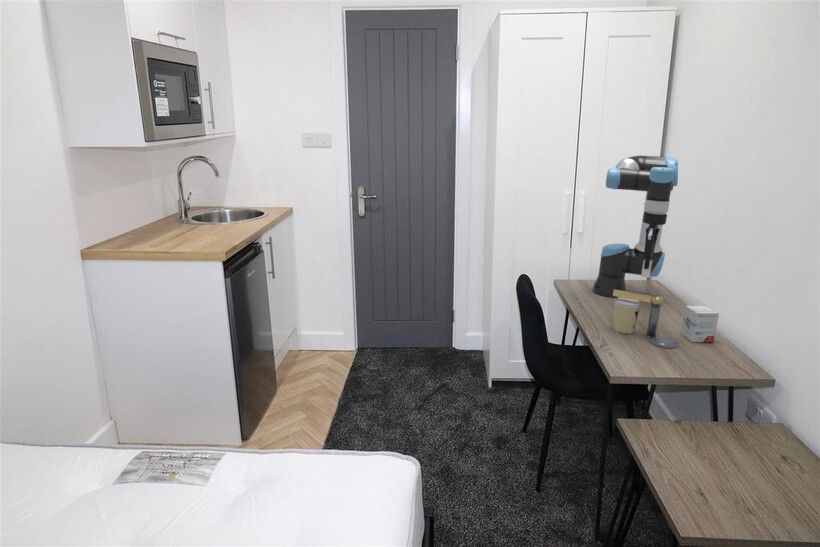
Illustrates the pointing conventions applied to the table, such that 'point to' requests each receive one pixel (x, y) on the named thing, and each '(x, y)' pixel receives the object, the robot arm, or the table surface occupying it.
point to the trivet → (663, 342)
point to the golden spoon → (640, 297)
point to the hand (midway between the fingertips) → (645, 276)
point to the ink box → (699, 324)
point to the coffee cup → (625, 314)
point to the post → (653, 320)
